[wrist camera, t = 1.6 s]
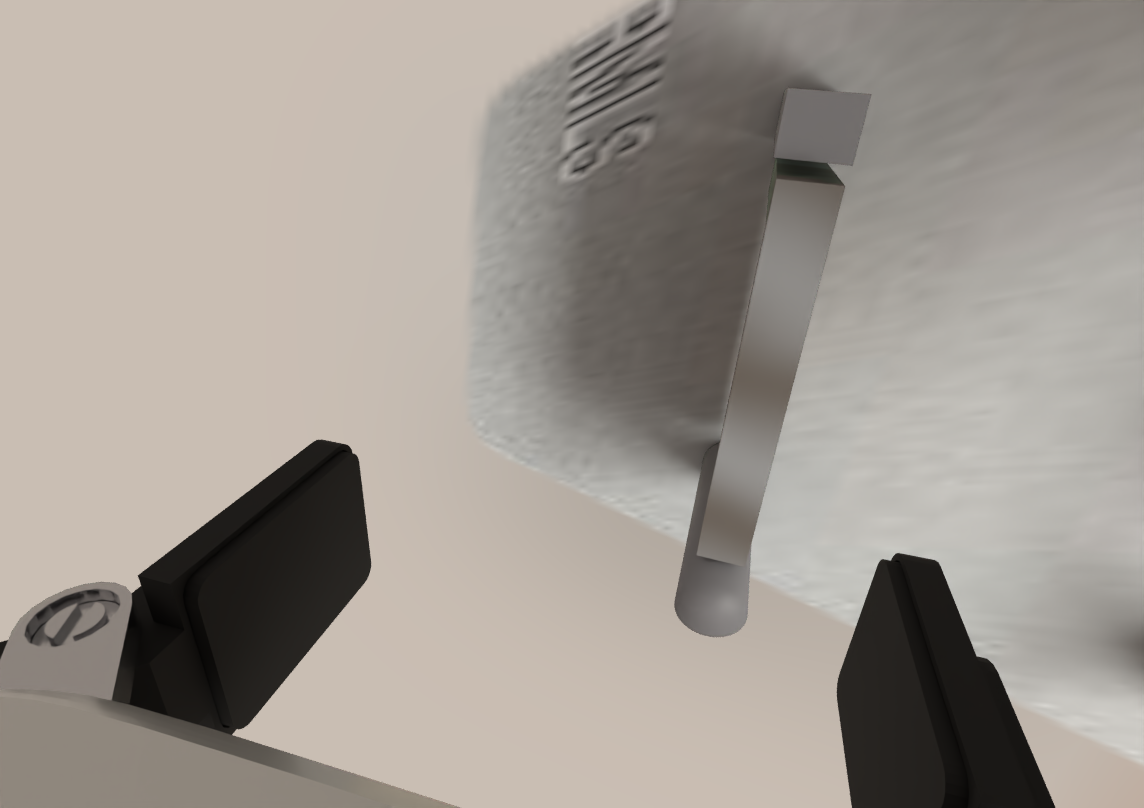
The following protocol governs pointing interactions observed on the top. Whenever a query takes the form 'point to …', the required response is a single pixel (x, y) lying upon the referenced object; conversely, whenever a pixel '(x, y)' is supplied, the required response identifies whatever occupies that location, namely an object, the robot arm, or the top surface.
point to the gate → (769, 350)
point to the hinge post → (710, 575)
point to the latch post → (820, 125)
